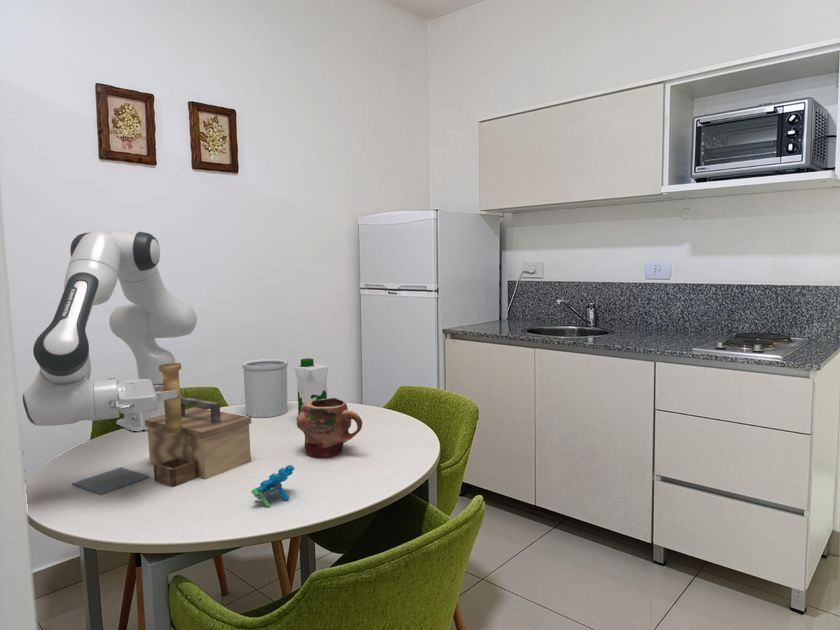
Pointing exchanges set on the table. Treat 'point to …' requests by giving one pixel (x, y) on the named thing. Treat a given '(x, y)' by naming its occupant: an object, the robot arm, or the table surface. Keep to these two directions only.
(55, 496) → the table surface
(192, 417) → the toolbox
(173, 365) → the tan cylinder
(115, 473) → the mat
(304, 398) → the milk carton
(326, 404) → the pink ceramic mug
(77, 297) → the robot arm
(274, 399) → the utensil holder
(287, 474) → the gear
